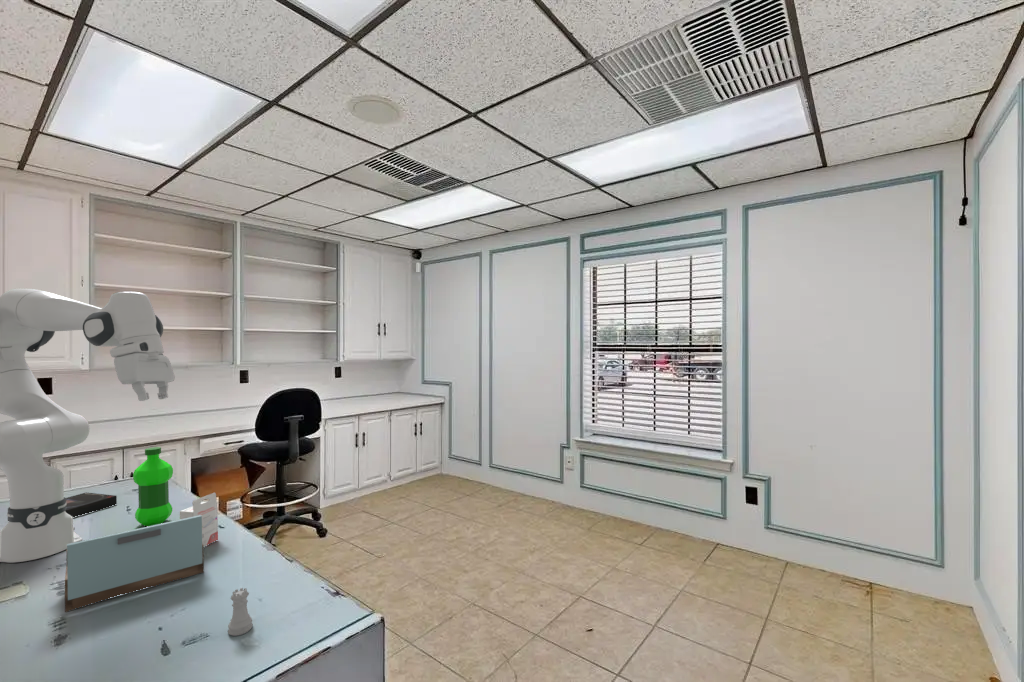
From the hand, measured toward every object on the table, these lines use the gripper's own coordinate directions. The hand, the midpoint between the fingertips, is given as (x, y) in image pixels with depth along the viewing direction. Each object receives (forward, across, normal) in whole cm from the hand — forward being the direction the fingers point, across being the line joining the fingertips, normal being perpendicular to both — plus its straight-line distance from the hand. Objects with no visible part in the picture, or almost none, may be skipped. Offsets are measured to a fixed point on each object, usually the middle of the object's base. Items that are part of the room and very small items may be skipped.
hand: (154, 399), depth 126 cm
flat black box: (+28, -59, -61) cm, 90 cm away
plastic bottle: (+37, -38, -26) cm, 59 cm away
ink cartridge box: (+44, -14, -4) cm, 46 cm away
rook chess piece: (+53, +34, +21) cm, 67 cm away
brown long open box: (+44, +6, -10) cm, 45 cm away
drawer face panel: (+42, +12, -6) cm, 44 cm away
